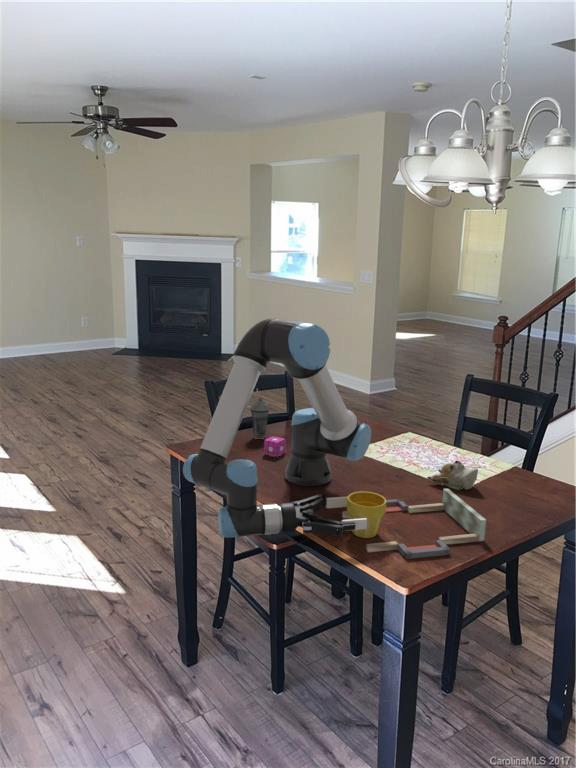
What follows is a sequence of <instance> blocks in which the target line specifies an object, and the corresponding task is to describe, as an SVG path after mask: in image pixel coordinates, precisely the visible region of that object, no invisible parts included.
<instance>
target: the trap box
mask: <svg viewBox="0 0 576 768" xmlns="http://www.w3.org/2000/svg"><path fill="white" fill-rule="evenodd" d="M407 506H408V507H407V511H406V512H408V514H413V513H424V512H426V513H427V512H435V511H436V512H437V511H445V512H446V513H447V515H449V516H450V517H452V518H453V520H455V521H456V522H457V523H458V524H459V525H460V526H461V527H463V529H464V530H466V531H467V532H468V533H469V534H468V533H467V534H458V535H447V536H438V537H437V540H442V541H443V542H444V543H445V544H446V545H447V546H448V545H455V544H466V543H467V544H468V543H474V542H477V543H478V542H485V537H486V536H485V534H486V525H487V519H486V518H485V517H484V516H483V515H481V514H479V513H478V512H477V511H476V510H475V509H474V508H473V507H471V506H470V505H469V504H468V503H467V502H465V501H464V500H463V499H462V498H460V497H459V496H458V495H457V494H455V493H454V492H453V491H452V490H451V489H449V488H443V489H442V501H441V503H440V502H439V503H427V504H414V505H407ZM341 518H342V519H350V514H349V512H348V510H343V511H342V512H341ZM398 544H399V543H398V542H397V541H396V540H395V541H386V542H375V543H366V545H365V549H366V552H367V553H376V552H384V551H385V552H386V551H393V550H394V551H397V550H398Z"/></svg>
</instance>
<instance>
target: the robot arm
mask: <svg viewBox="0 0 576 768" xmlns="http://www.w3.org/2000/svg"><path fill="white" fill-rule="evenodd" d="M330 346H331V341H330V338H329V336H328V333H327V331H326V330H325V329H324V328H323V327H322V326H320V325H319V324H315V323H311V322H308V321H298V320H297V321H295V320H288V319H287V320H286V319H278V318H266V319H263V320H260V321H259V322H257V323H255V324H254V325H253V326H251V328H250V329H248V331H247V332H246V333H245V334H244V335H243V336H242V337H241V339H240V342H238V344H237V346H236V348H235V350H234V353H233V356H232V360H233V366H232V368H231V370H230V373H229V375H228V378H227V381H226V383H225V385H224V388H223V390H222V392H221V393H222V394H221V395H220V398H219V401H218V402H217V405H216V408H215V410H214V413H213V415H212V419H210V422H209V423H210V424H209V426H208V428H207V430H206V432H205V433H206V434H205V436H204V437H203V441H202V443H201V444H200V448H199V451H198V453H193V454H190V455H189V456H188V458H186V459H185V461H184V463H183V467H182V468H183V469H182V472H183V473H182V475H183V476H184V478H185V479H186V480H187V481H188V482H190V483H193V484H195V485H196V486H199V487H203V488H206V489H209V490H212V491H215V492H217V493H219V494H222V495H225V496H226V506H224V507H220V509H219V510H218V517H217V518H218V519H217V521H218V530H219V531H218V532H219V535H221V536H222V538H241V537H250V536H263V535H266V536H270V535H272V534H273V535H275V534H279V533H282V534H286V533H288V534H289V533H294V532H296V529H297V528H298V527H300V528H302V530H303V531H302V532H303V533H304V534H311V533H312V534H319V535H320V534H321V535H325V536H326V535H328V536H334V537H343V532H349V531H352V530H361V529H367V519H366V518H359V519H350V518H346V519H341V521H338V520H334V519H331V518H325V517H323V516H320V515H319V514H318V513H317V512H319V511H320V510H323V508H326V509H336V508H337V509H338V508H347V497H348V496H349V495H347V496H336V497H335V496H333V497H326V496H327V495H326V494H316V495H313V496H310V497H307V498H303V499H301V500H295V501H292V502H281V503H279V504H277V503H269V504H268V503H265V504H257V503H258V501H257V500H258V479H259V477H258V473H257V472H258V469H257V468H258V467H257V464H256V463H255V462H254V461H252V460H250V459H242V458H240V459H232V460H231V461H229V462H228V463H226V461H227V459H228V455H229V453H230V450H231V448H232V446H233V443H234V440H235V438H236V436H237V433H238V431H239V428H240V425H241V423H242V420H243V418H244V415H245V413H246V410H247V408H248V405H249V402H250V399H251V398H252V395H253V393H254V390H255V387H256V384H257V382H258V379H259V377H260V374H261V373H263V372H265V371H266V369H267V366H268V365H269V364H270V363H275V364H276V363H277V364H281V365H283V366H284V369H285V370H286V372H287V373H288V375H289V376H290V377H291V378H292V379H295V380H298V382H299V384H300V386H301V388H302V390H303V392H304V394H305V395H306V398H307V399H308V401H309V403H310V405H311V406H312V407H309V408H308V407H307V408H301V409H298V410H296V411H294V412H293V414H292V416H291V427H290V428H291V429H290V430H291V431H290V432H291V433H290V434H291V435H290V436H291V440H290V442H291V443H290V445H291V446H290V456H289V459H288V462H287V464H286V467H285V472H284V478H285V480H286V479H287V480H288V481H287V480H286V481H287V482H288V483H290V482H291V483H290V484H292V485H296V486H302V487H320V486H323V485H326V484H328V483H330V481H331V480H332V470H331V466H330V463H329V460H328V456H327V455H330V456H331V455H332V456H335V457H338V458H343V459H346V460H347V461H354V462H356V461H359V460H361V459H363V458H364V456H365V455H366V453H367V452H368V449H369V447H370V444H371V439H372V429H371V427H370V426H369V425H368V424H366V423H360V421H359V420H358V418H357V416H356V415H355V413H354V412H353V411H352V410H350V409H347V407H346V405H345V403H344V400H343V398H342V396H341V395H340V393H339V389H338V388H337V387H336V383H335V382H334V379H333V378H332V376H331V373H330V372H329V370H328V367H327V363H328V359H329V358H330V353H331V348H330Z"/></svg>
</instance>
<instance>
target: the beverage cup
mask: <svg viewBox="0 0 576 768" xmlns="http://www.w3.org/2000/svg"><path fill="white" fill-rule="evenodd" d="M256 397H257V399H256V400H254V401H253V402H252V404H251V407H250V414H251V419H252V435H253V438H254V437H256V438H263V437H265V438H266V434H267V426H268V425H267V424H268V417H269V411H270V408H269V404H268V402H267V401H266V400H264V399H261V398H259V397H260V396H259V388H256Z"/></svg>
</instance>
